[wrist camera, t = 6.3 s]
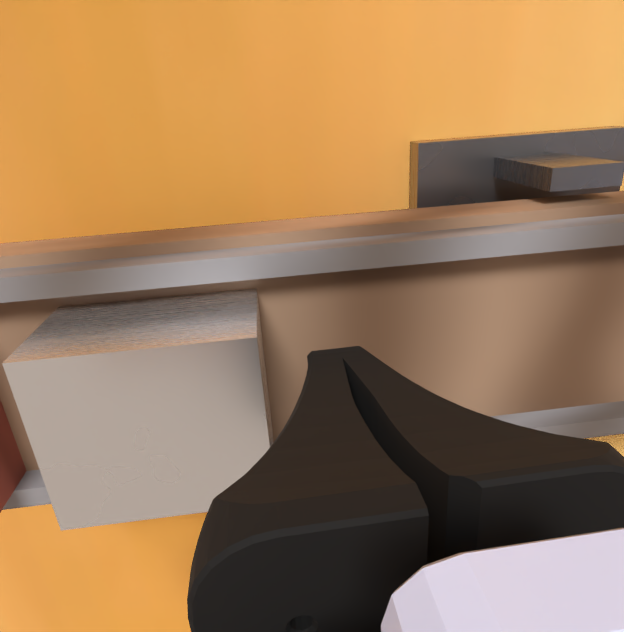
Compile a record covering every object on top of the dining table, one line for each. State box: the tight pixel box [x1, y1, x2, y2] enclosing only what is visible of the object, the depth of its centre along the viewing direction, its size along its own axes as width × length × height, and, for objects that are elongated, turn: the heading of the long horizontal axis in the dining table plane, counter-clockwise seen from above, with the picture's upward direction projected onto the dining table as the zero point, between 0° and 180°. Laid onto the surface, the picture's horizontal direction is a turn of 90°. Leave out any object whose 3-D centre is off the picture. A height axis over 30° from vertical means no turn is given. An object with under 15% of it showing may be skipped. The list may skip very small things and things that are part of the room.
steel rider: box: [2, 288, 273, 530], centre depth 12 cm, size 5×4×3 cm
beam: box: [0, 191, 624, 512], centre depth 14 cm, size 23×7×4 cm, turn 94°
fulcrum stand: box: [409, 126, 624, 209], centre depth 16 cm, size 7×10×4 cm
